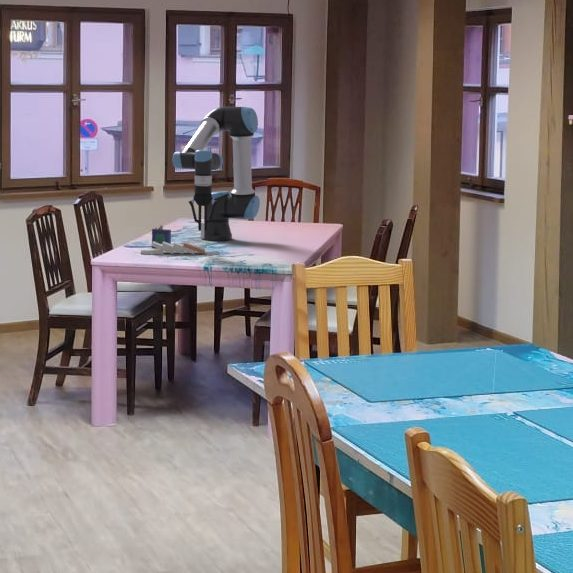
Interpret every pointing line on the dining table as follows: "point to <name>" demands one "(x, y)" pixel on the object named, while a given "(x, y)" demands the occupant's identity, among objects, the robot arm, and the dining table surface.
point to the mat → (191, 253)
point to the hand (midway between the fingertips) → (202, 237)
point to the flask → (161, 235)
